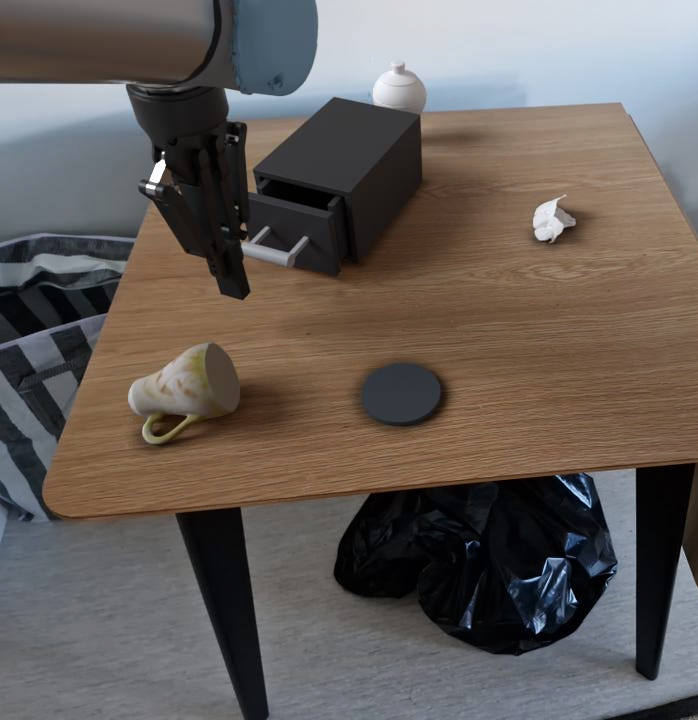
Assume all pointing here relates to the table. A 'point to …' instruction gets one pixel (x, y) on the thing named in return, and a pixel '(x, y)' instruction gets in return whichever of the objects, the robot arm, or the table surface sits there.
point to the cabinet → (354, 163)
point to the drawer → (297, 227)
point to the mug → (187, 390)
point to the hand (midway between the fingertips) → (235, 292)
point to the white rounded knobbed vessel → (400, 90)
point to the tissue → (551, 220)
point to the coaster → (401, 394)
